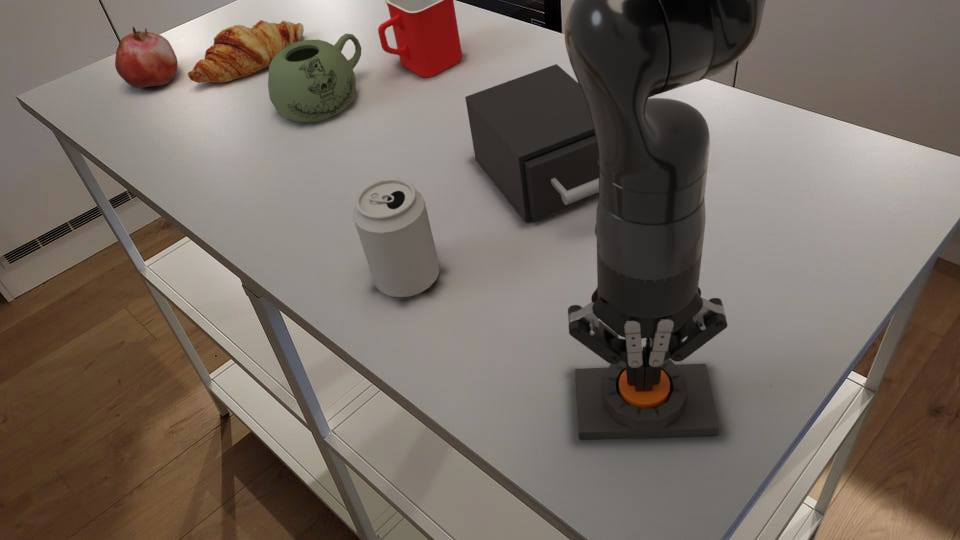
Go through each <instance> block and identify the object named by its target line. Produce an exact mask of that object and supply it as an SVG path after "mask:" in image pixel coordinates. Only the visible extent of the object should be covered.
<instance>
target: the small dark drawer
mask: <svg viewBox="0 0 960 540" xmlns="http://www.w3.org/2000/svg"><path fill="white" fill-rule="evenodd" d="M524 164H525V173H526V182H527V191H528V201H529V210H530V216H531V218H532V219H533V221H534V222H537V221H539V220H542V219H545V218H547V217H549V216H551V215H554V214H557V213H558V212H561V211H564V210H567V209H569V208H571V207H574V206H577V205H579V204H582V203H584V202H586V201H589V200H591V199H594V198H597V197H599V153H598V146H597V141H596V136H595V134H593V135H590V136H588V137H585V138H583V139H580V140H578V141H575V142H572V143H570V144H567V145H565V146H562V147H559V148H557V149H554V150H552V151H549V152H546V153H544V154H541V155H539V156H536V157H533V158H531V159H528V160H526V161H525V162H524Z"/></svg>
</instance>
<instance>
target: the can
mask: <svg viewBox="0 0 960 540" xmlns="http://www.w3.org/2000/svg"><path fill="white" fill-rule="evenodd" d="M352 219H353V222H354V226H355V229H356V232H357V235H358V239H359V241H360V243H361V246H362V247H361V248H362V250H363V253H364V256H365V260H366V262H367V265H368V269H369V272H370V274H371V277H372V280H373V283H374V286H375V288H376V289H378V291H380V293H382V294H384V295H386V296H389V297H393V298H394V297H395V298H409V297H414V296H416V295H420V294H421V293H423V292H425V291H426V290H427V289H428V288H430V287H431V286H432V285H433V284H434V283H435V282H436V281H437V279H438V276H439V274H440V262H439V258H438V253H437V249H436V245H435V240H434V236H433V231H432V227H431V223H430V218H429V214H428V210H427V205H426V201H425V198H424V196H423V195H422V193H421V192H420V191H419V190H417V189H416V188H415V186H414V184H412V183H411V182H410V181H409V180H407V179H403V178H400V177H386V178H380V179H378V180H375V181H372V182H370V183H368V184H367V185H365V186H364V187H363V188H362V189H361V190H359V192H358V194H357V195H356V197H355V202H354V207H353V208H352Z"/></svg>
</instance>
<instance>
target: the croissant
mask: <svg viewBox="0 0 960 540" xmlns="http://www.w3.org/2000/svg"><path fill="white" fill-rule="evenodd" d="M304 32H305V30H304V24H303V23H301V22H297V23H295V22H290V21H286V20H282V21H281V22H279V23H276V22H268V21H265V20H262V19H261V20H259V21H258V22H256V23H255V24H253V25H252V27H247V26H246V25H243V24H235V25H233V26H228V27H227V28H226V27H225V28H224V29H222V30H221V31H219V32H218V33H217V34H216V36H214V38H213V45H210V47H208V48H207V49H206V50H205V55H204V58H203V59H199V60H198V61H197V62H196V63H195V65H194V66H193V68H192V70H190V71H188V72H187V76H188V78H189V79H190V80H191V81H192V82H194V83H198V84H200V83H201V84H202V83H214V82H215V83H226V82H229V83H230V82H231V81H233V80H237V79H240V78H243V77H248V76H250V75H254V74H255V73H257V72H258V71H260V70H263V69H265V68H268V67H269V66H270V63H271V61H272V59H273V58H274V56H275V55H276V54H277V53H278V51H280V50H281V49H283V48H284V47H286V46H288V45H290V44H293V43H295V42H299V41H300V39H301V38H302V36H303V35H304Z"/></svg>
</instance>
